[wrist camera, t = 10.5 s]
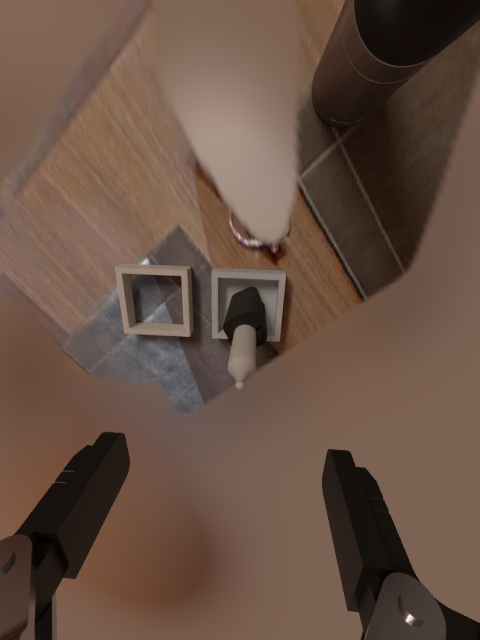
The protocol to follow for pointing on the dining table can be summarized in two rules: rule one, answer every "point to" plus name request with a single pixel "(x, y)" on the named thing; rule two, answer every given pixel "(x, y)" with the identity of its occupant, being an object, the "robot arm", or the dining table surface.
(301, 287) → the dining table surface
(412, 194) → the dining table surface
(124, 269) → the grey frame
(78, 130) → the dining table surface
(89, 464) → the robot arm
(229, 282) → the grey tray
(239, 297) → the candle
